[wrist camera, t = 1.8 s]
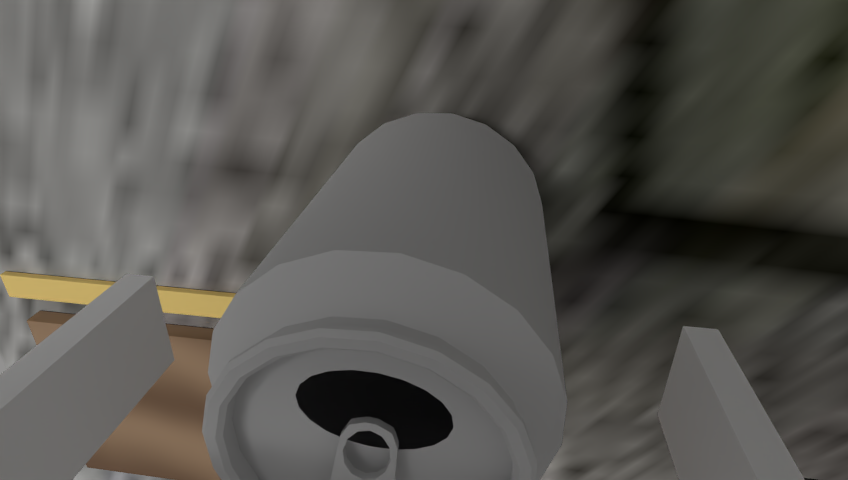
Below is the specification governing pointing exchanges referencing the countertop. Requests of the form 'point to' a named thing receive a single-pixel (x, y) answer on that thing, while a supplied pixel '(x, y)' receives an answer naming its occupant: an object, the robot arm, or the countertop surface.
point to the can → (397, 323)
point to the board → (158, 411)
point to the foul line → (91, 289)
